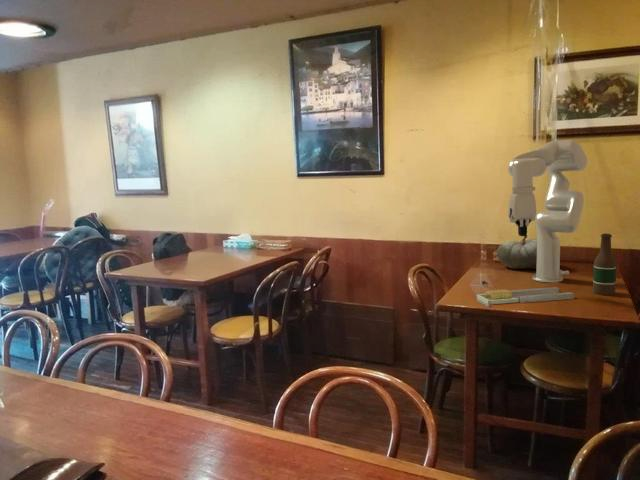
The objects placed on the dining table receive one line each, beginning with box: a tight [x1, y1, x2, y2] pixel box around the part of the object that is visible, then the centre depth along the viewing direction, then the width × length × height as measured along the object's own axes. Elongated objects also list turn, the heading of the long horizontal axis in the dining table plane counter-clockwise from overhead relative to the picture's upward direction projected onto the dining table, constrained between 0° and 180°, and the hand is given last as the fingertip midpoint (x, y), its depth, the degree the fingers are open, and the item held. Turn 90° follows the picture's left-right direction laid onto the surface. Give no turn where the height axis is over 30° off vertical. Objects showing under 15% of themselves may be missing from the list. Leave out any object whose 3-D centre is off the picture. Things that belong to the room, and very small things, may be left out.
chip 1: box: [486, 289, 502, 300], centre depth 186 cm, size 4×4×4 cm
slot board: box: [510, 286, 575, 304], centre depth 189 cm, size 22×12×3 cm, turn 98°
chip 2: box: [497, 288, 512, 299], centre depth 186 cm, size 4×4×4 cm
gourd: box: [496, 235, 537, 270], centre depth 249 cm, size 25×25×17 cm
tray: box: [475, 293, 520, 308], centre depth 186 cm, size 12×10×2 cm
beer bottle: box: [592, 233, 617, 296], centre depth 192 cm, size 8×8×24 cm
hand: (522, 235), depth 197 cm, fingers closed
